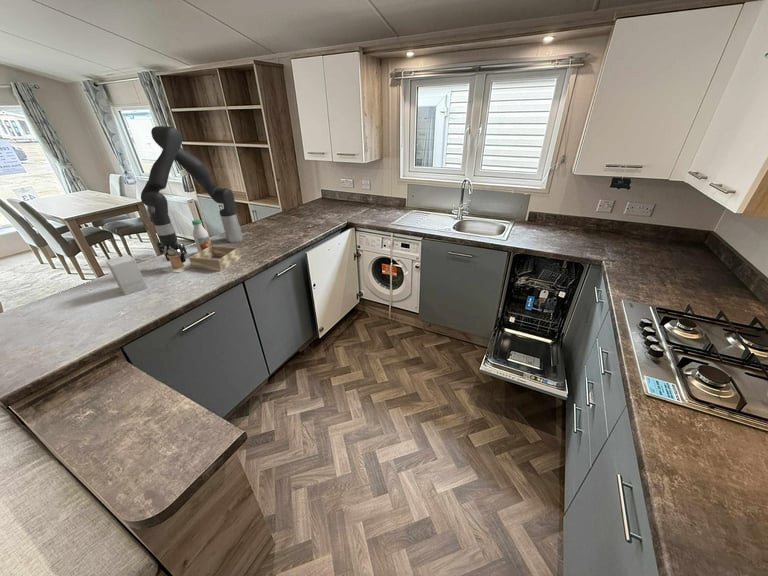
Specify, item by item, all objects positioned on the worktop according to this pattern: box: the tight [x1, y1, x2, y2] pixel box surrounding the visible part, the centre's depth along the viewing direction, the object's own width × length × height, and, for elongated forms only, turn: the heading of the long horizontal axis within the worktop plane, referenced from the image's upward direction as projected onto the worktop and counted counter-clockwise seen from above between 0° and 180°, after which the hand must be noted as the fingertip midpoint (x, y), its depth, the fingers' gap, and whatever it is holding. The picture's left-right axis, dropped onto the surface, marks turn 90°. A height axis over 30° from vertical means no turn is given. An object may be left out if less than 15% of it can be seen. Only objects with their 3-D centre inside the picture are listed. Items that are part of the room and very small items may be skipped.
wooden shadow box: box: [188, 245, 242, 272], centre depth 165 cm, size 18×18×6 cm
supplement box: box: [105, 254, 148, 296], centre depth 136 cm, size 9×9×15 cm
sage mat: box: [161, 261, 192, 274], centre depth 160 cm, size 11×11×1 cm
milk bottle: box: [191, 219, 213, 253], centre depth 172 cm, size 8×8×20 cm
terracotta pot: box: [167, 249, 184, 269], centre depth 157 cm, size 6×6×11 cm
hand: (176, 261), depth 158 cm, fingers open, 8 cm apart
